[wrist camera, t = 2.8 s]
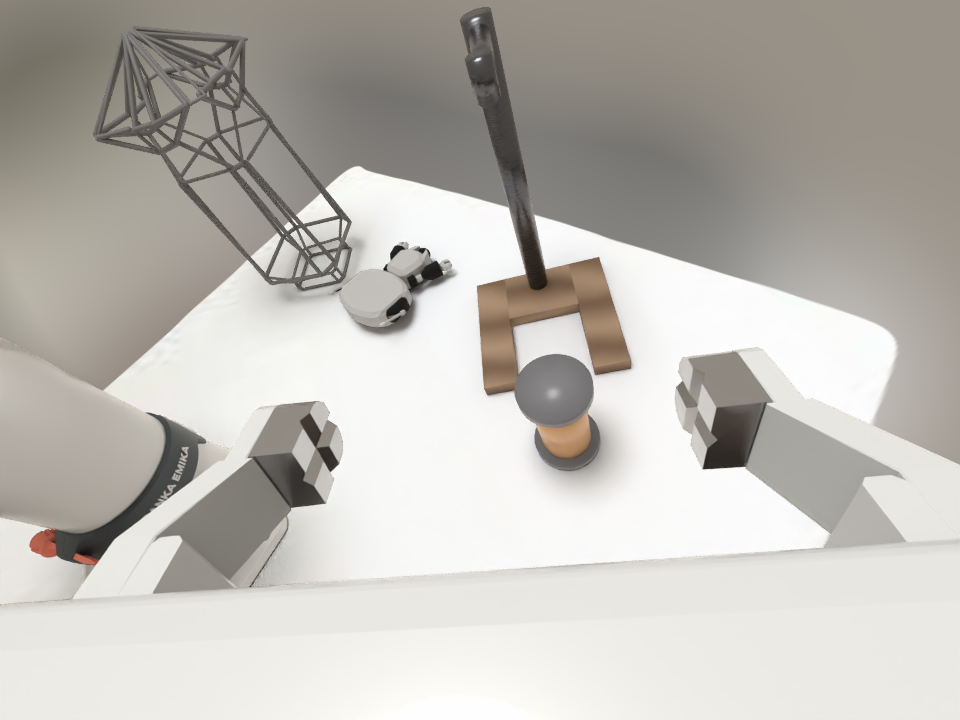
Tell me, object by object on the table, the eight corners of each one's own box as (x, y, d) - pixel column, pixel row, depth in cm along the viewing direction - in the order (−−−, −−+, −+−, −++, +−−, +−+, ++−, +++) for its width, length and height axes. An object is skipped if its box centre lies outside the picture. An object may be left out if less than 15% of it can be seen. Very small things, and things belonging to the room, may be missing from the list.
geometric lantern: (356, 298, 66) (149, 40, 38) (270, 313, 70) (27, 91, 42) (375, 227, 74) (217, -26, 46) (298, 244, 79) (110, 22, 51)
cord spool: (594, 476, 42) (586, 428, 33) (530, 464, 44) (506, 416, 35) (604, 416, 45) (598, 357, 36) (543, 408, 47) (524, 351, 39)
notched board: (630, 368, 47) (630, 360, 46) (487, 394, 50) (484, 388, 49) (599, 265, 56) (598, 257, 55) (480, 293, 59) (477, 286, 58)
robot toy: (408, 253, 70) (337, 314, 65) (397, 230, 66) (322, 292, 61) (462, 278, 63) (388, 347, 58) (454, 253, 60) (375, 325, 55)
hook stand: (562, 352, 49) (499, 54, 25) (540, 356, 49) (458, 68, 25) (546, 274, 56) (485, -16, 32) (527, 278, 56) (454, -5, 32)
